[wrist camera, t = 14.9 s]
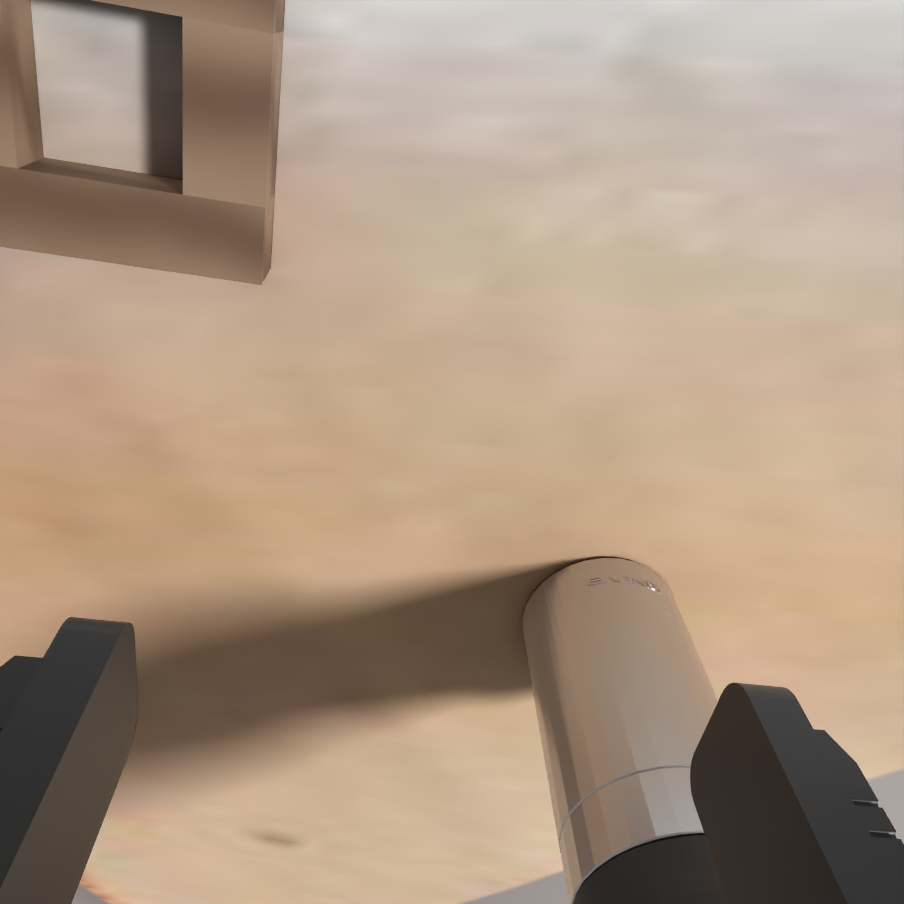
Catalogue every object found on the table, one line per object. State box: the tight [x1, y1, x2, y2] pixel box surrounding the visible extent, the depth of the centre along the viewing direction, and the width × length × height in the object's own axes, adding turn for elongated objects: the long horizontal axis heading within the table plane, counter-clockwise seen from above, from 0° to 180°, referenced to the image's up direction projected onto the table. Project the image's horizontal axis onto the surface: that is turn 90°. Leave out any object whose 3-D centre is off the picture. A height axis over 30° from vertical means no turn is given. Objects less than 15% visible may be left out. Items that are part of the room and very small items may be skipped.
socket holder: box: [0, 0, 285, 285], centre depth 31 cm, size 13×13×2 cm
